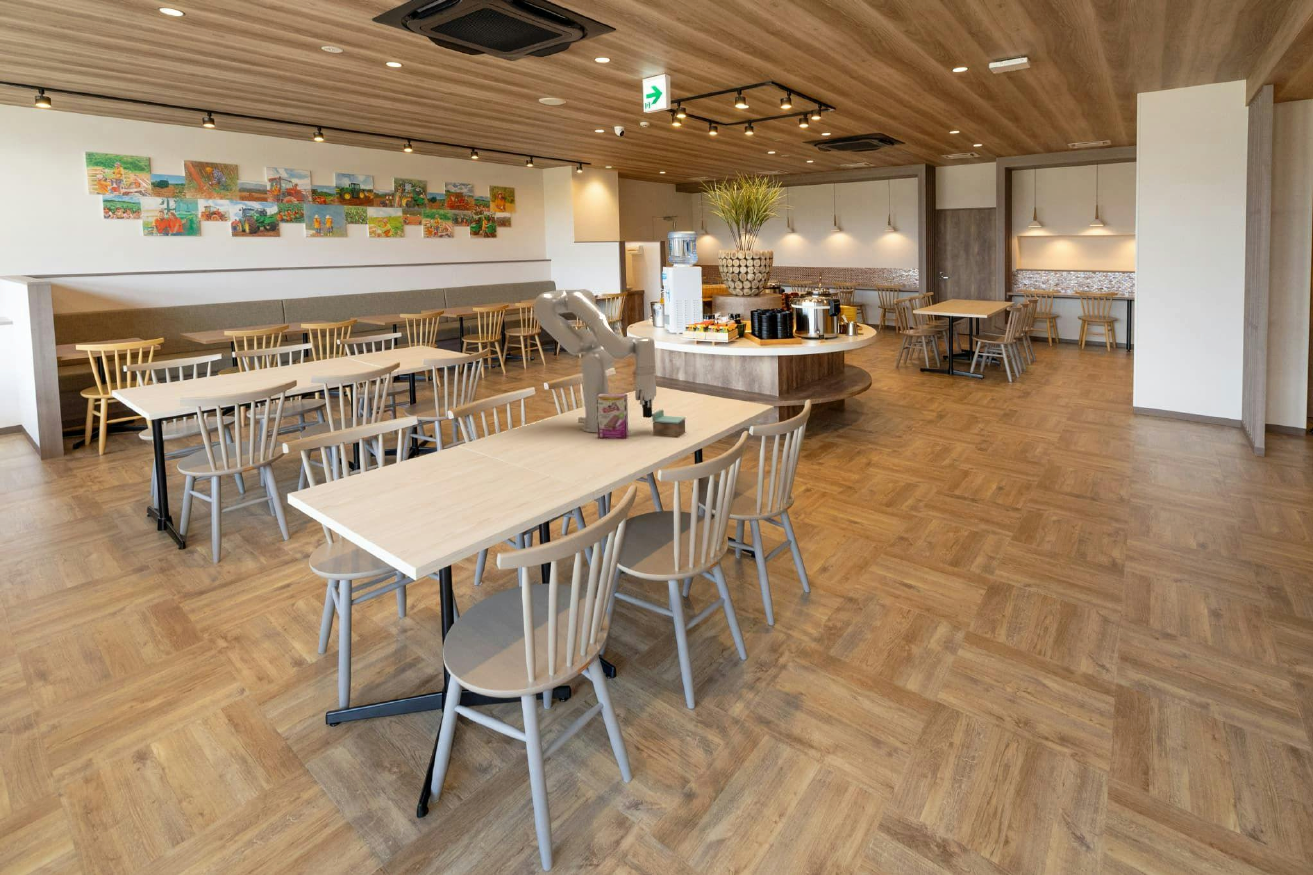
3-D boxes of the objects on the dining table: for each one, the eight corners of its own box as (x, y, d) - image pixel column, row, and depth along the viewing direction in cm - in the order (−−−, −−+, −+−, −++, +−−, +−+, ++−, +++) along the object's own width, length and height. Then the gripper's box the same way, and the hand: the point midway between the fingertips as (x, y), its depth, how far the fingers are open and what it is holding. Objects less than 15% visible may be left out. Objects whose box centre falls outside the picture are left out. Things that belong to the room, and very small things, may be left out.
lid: (652, 421, 280) (652, 414, 279) (660, 417, 287) (660, 409, 286) (677, 423, 275) (677, 416, 275) (685, 419, 283) (685, 411, 282)
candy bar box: (598, 438, 278) (596, 396, 274) (600, 435, 283) (598, 393, 279) (627, 438, 277) (625, 396, 273) (628, 435, 282) (627, 393, 278)
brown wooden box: (653, 435, 281) (652, 422, 280) (661, 430, 288) (661, 417, 287) (677, 437, 277) (677, 424, 276) (685, 432, 284) (685, 419, 283)
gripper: (644, 366, 288) (646, 412, 293) (628, 373, 275) (630, 420, 279) (662, 367, 285) (664, 413, 290) (646, 374, 272) (648, 422, 276)
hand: (647, 417), depth 284 cm, fingers closed
